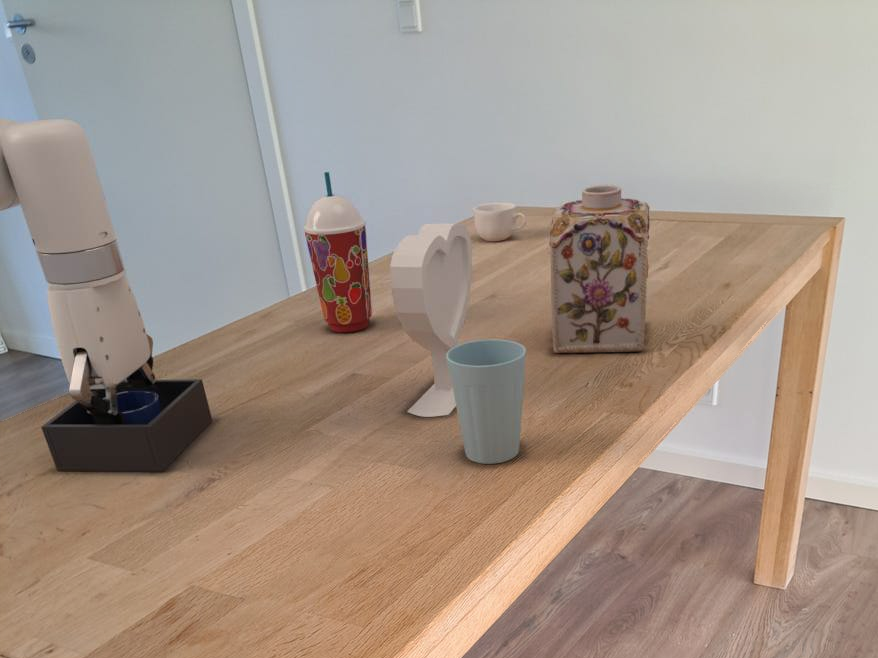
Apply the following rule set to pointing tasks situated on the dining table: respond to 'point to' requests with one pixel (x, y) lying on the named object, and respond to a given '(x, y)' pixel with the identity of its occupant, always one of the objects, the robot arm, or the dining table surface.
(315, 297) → the dining table surface
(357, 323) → the smoothie
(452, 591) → the dining table surface
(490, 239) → the teacup
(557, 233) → the decorative jar
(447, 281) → the heart sculpture
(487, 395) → the cup
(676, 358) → the dining table surface
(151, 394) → the cylindrical container
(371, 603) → the dining table surface
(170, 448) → the dish tub
